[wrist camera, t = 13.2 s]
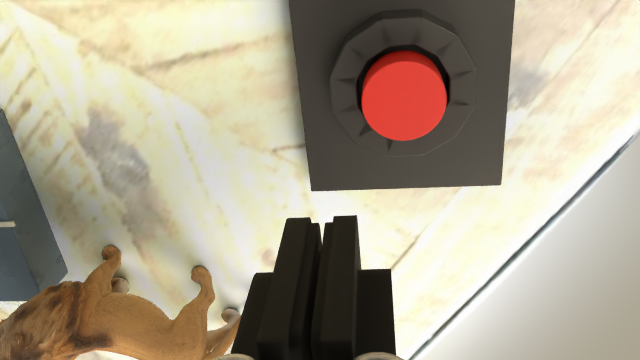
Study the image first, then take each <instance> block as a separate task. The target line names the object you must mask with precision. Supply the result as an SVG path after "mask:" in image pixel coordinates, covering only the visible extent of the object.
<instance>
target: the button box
mask: <svg viewBox="0 0 640 360" xmlns="http://www.w3.org/2000/svg"><path fill="white" fill-rule="evenodd" d="M289 7H290V15H291V24H292V32H293V40H294V49H295V57H296V66H297V74H298V82H299V91H300V99H301V108H302V116H303V125H304V133H305V141H306V150H307V158H308V167H309V175H310V183H311V191H337V190H367V189H398V188H429V187H460V186H491V185H501V180H502V167H503V153H504V140H505V127H506V114H507V100H508V87H509V74H510V61H511V47H512V34H513V21H514V8H515V0H289ZM400 50H409V51H414V52H418V53H420V54H423V55H424V56H426V57H428V58H429V59H430V60H431V61H432V62H433V63H434V64H435V65H436V67H437V68H438V70H439V72H440V74H441V77H442V80H443V83H444V86H445V89H446V94H447V103H446V109H445V112H444V114H443V116H442V118H441V120H440V121H439V123H438V124H437V125H436V126H435V127H434V128H433V129H432V130H431V131H430V132H428V133H427V134H425V135H423V136H421V137H419V138H416V139H412V140H405V141H401V140H393V139H389V138H387V137H384V136H382V135H380V134H379V133H377V132H376V131H375V130H374V129H373V128H372V127H371V126H370V125H369V124H368V122H367V120H366V119H365V116H364V114H363V110H362V90H363V83H364V79H365V76H366V74H367V72H368V70H369V68H370V67H371V66H372V65H373V63H375V62H376V61H377V60H378V59H379V58H381V57H382V56H384V55H386V54H388V53H391V52H394V51H400Z"/></svg>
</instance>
